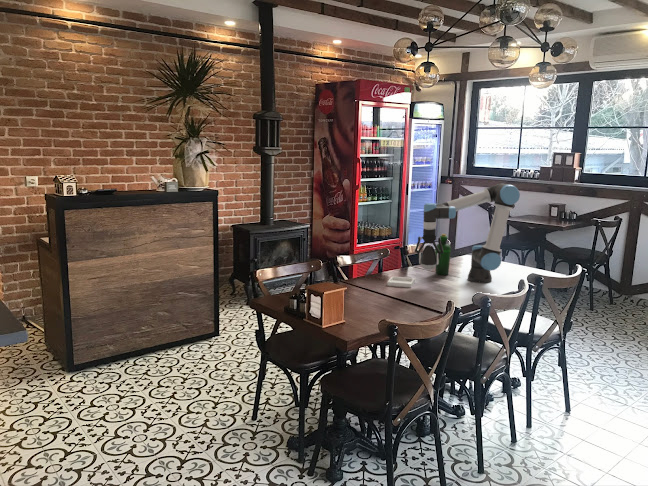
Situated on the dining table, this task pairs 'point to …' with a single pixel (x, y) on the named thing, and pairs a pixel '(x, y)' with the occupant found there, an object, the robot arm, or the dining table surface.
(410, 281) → the tray
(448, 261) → the bottle
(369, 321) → the dining table surface
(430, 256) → the egg shaped speaker
